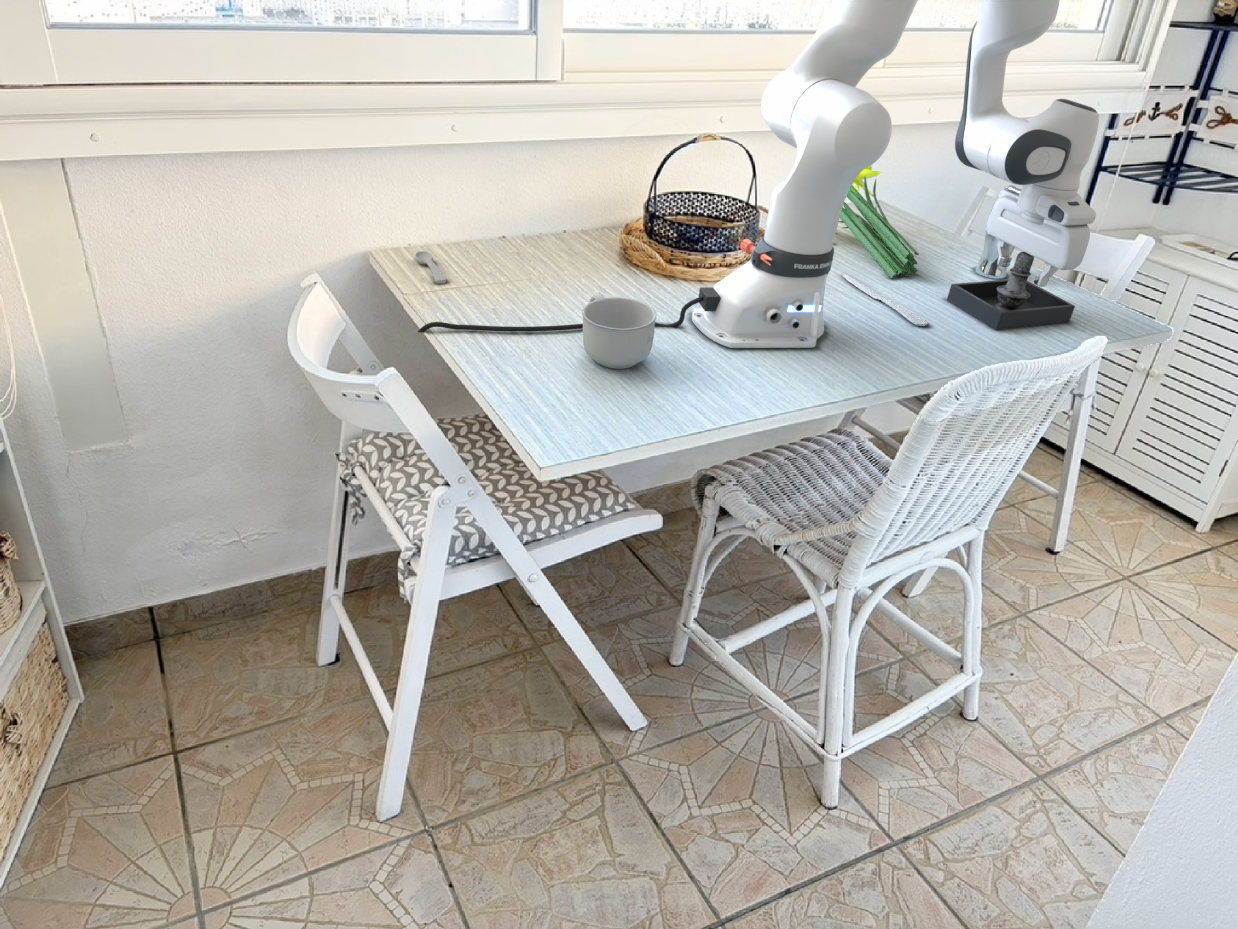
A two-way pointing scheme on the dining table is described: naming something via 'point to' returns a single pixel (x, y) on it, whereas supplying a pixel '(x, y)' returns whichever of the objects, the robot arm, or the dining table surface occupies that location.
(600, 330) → the teacup
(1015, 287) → the salt shaker
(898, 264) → the daffodil flowers
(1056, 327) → the dining table surface
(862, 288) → the butter knife
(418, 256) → the spoon
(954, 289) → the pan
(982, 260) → the beer glass
